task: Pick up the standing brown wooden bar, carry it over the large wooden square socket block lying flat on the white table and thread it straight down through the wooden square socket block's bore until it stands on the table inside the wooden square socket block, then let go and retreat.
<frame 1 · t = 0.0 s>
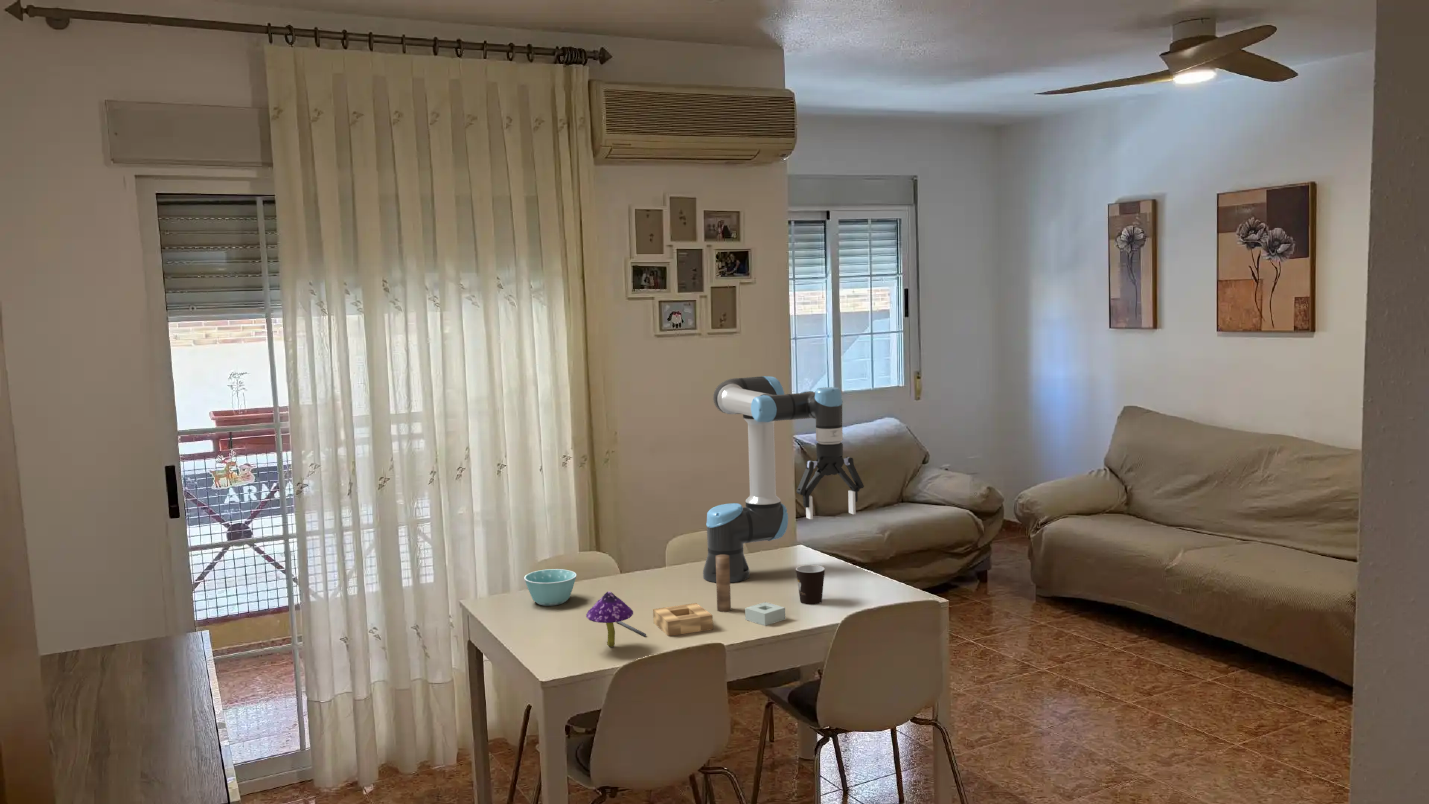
hand: (831, 516, 305), 28 cm above the table, fingers open, 13 cm apart
coffee mug: (811, 600, 320), on the table
wooden square socket block: (682, 626, 299), on the table
decorative mushroom: (611, 647, 283), on the table
grey square socket block: (765, 619, 302), on the table
bowl: (551, 602, 327), on the table
dark grey rod: (630, 629, 297), on the table
brown wooden bar: (724, 609, 313), on the table
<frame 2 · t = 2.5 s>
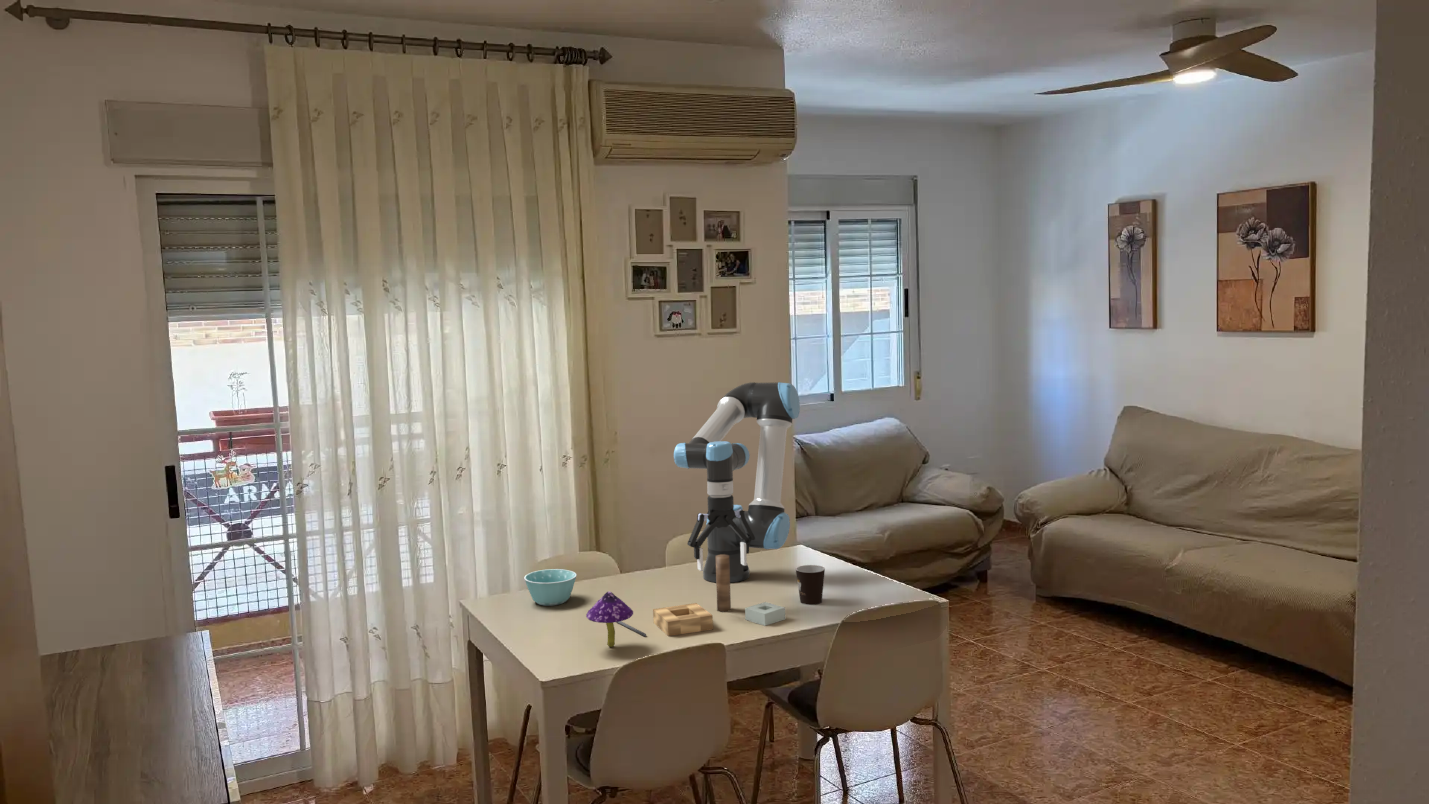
hand: (722, 567, 311), 13 cm above the table, fingers open, 13 cm apart
nothing on the table moved.
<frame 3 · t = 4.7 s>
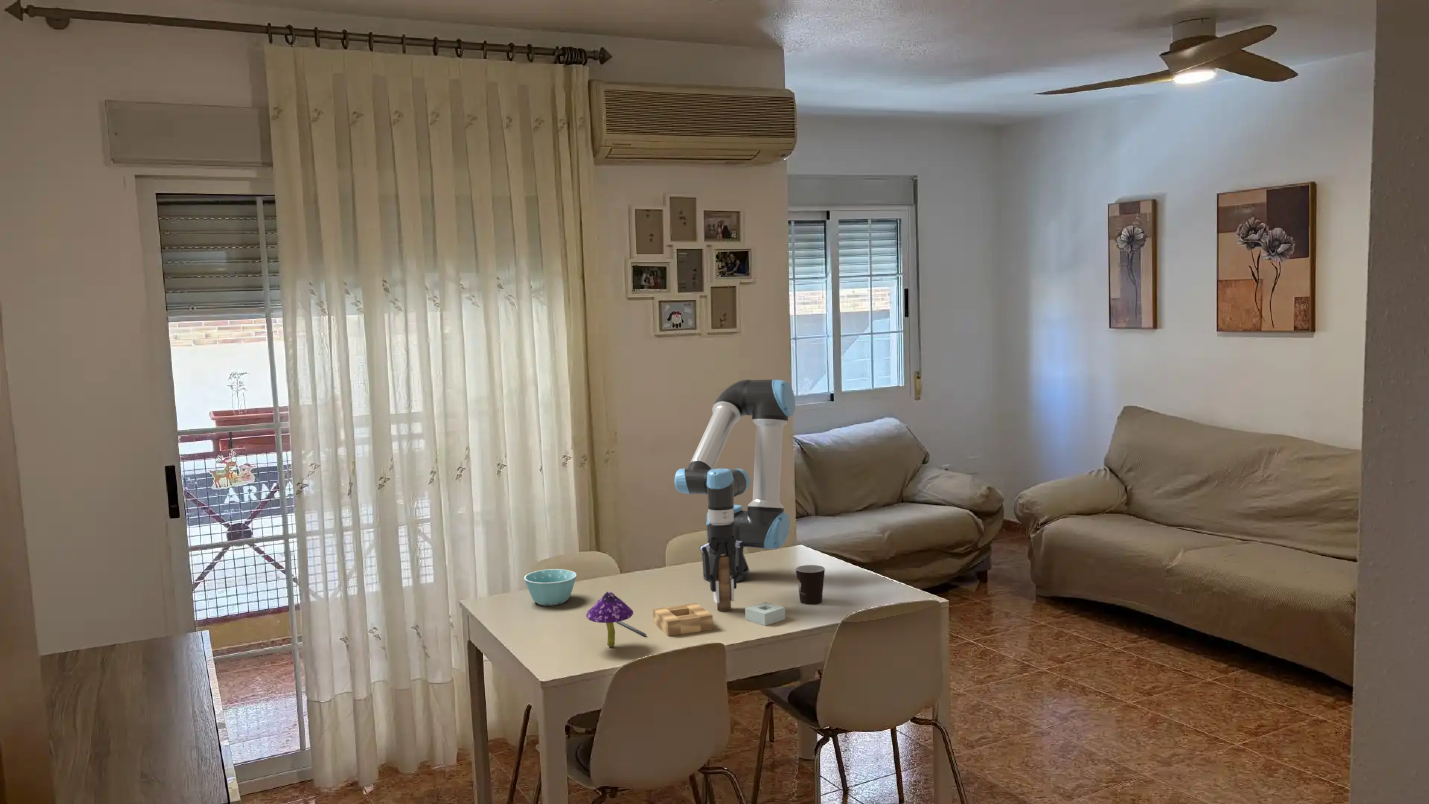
hand: (723, 600, 312), 3 cm above the table, fingers closed on brown wooden bar, 4 cm apart
brown wooden bar: (724, 609, 313), on the table, touching gripper
everything else where it was.
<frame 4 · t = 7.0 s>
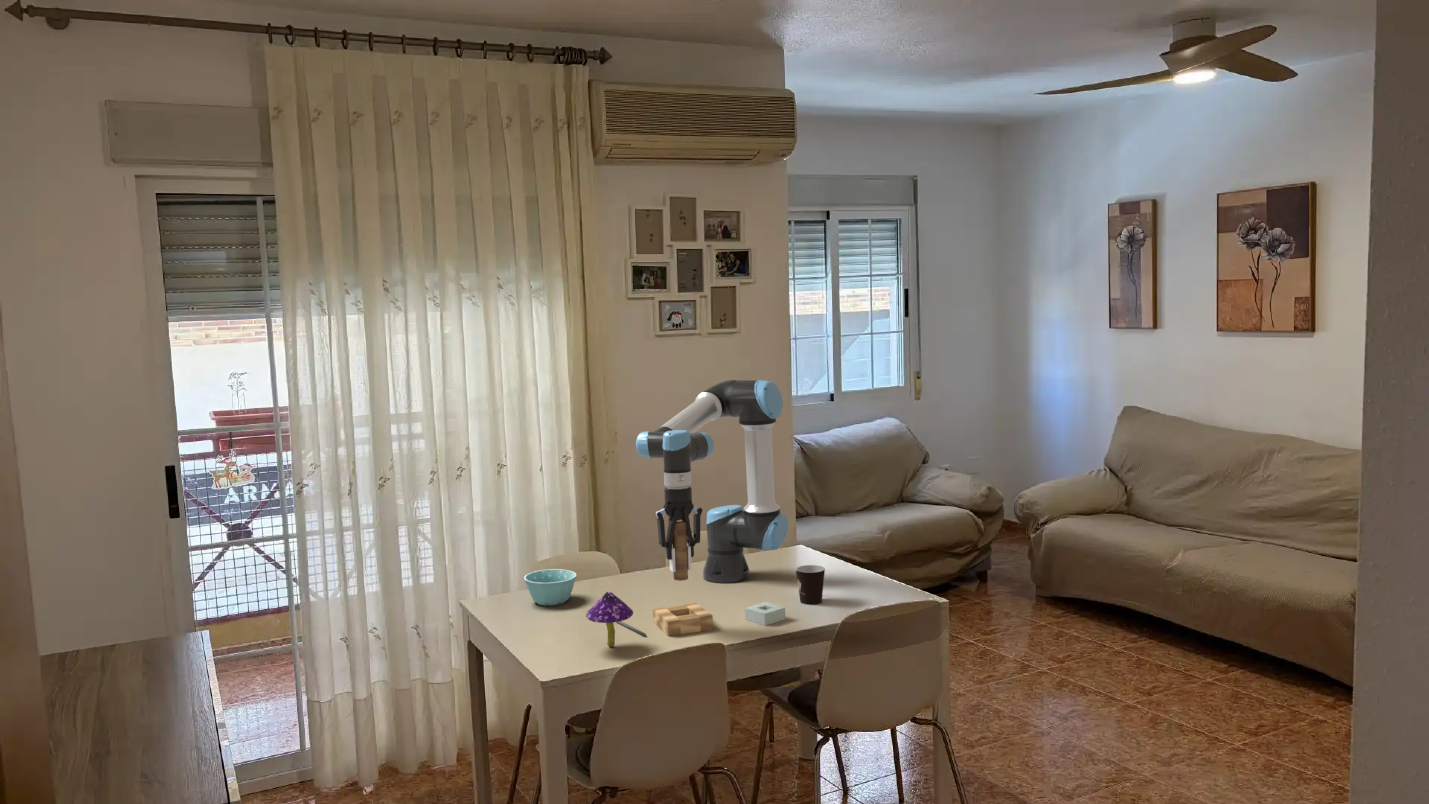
hand: (680, 569, 297), 16 cm above the table, fingers closed on brown wooden bar, 4 cm apart
brown wooden bar: (680, 578, 297), point 14 cm above the table, touching gripper
everything else where it was.
when the fingers open (5 cm above the table, at t = 9.6 s): brown wooden bar drops 2 cm, on the table.
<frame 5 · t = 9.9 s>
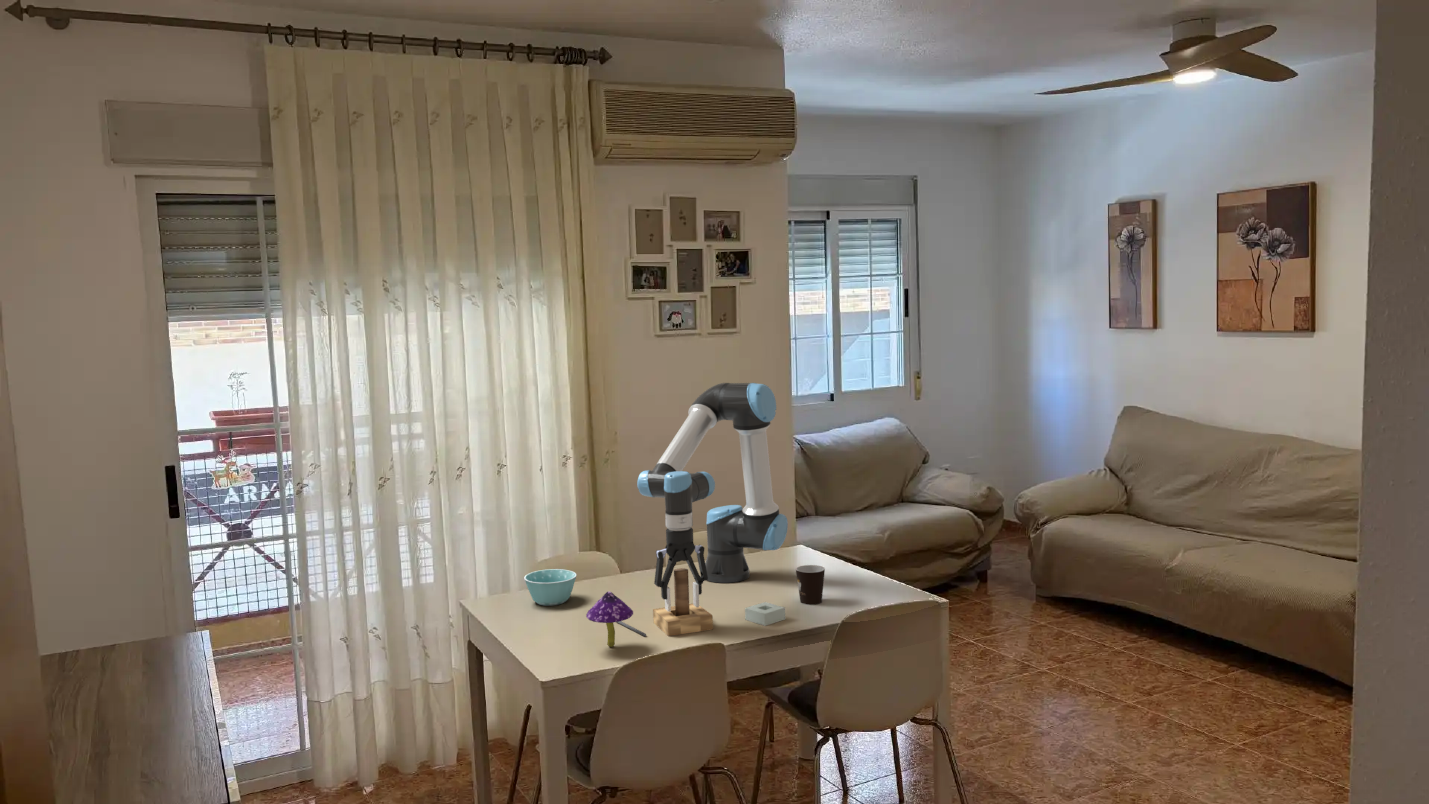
hand: (682, 608, 298), 5 cm above the table, fingers open, 8 cm apart
brown wooden bar: (682, 626, 299), on the table
everything else where it was.
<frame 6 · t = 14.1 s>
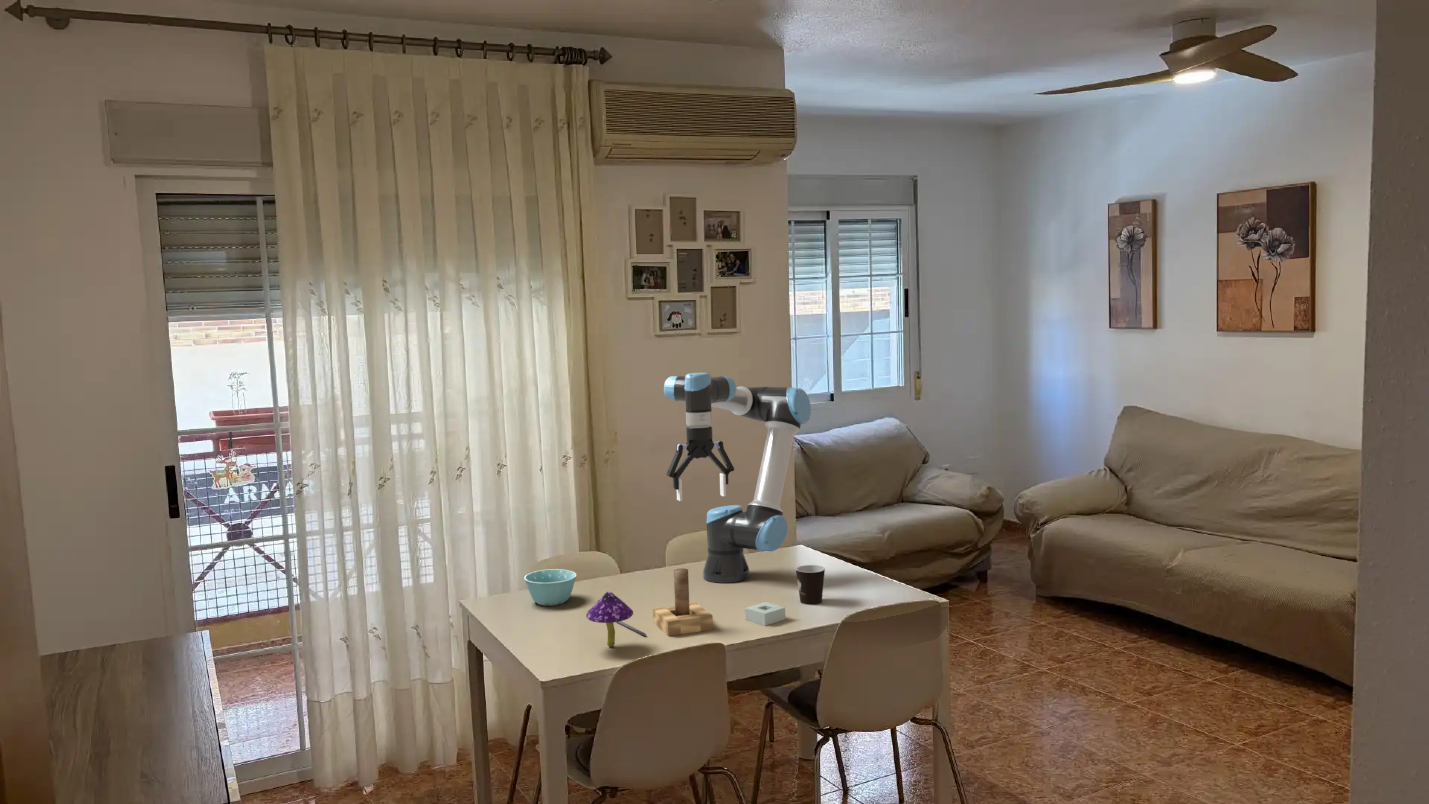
hand: (701, 498, 313), 33 cm above the table, fingers open, 13 cm apart
nothing on the table moved.
at the end: brown wooden bar 0.0 cm off-centre on the wooden square socket block, point 0.0 cm above the wooden square socket block's base; brown wooden bar tilted 0°; the gripper is holding nothing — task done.
